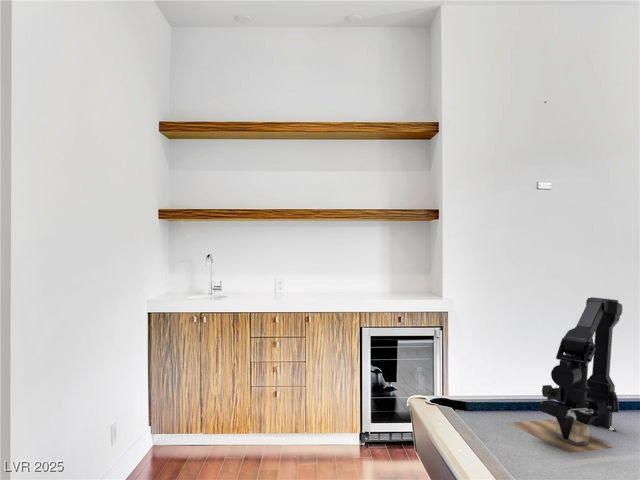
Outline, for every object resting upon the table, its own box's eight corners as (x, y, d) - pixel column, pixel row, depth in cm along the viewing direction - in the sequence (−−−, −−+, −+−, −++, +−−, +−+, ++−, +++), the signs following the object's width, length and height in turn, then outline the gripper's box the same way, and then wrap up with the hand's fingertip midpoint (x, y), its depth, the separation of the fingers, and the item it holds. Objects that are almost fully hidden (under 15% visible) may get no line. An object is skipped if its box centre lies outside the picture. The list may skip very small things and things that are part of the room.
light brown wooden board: (549, 423, 156) (549, 419, 156) (613, 452, 135) (613, 447, 135) (507, 426, 150) (508, 422, 150) (568, 457, 130) (568, 452, 130)
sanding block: (567, 435, 142) (568, 417, 142) (588, 444, 136) (589, 426, 136) (555, 436, 141) (556, 418, 141) (576, 445, 134) (577, 427, 134)
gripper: (576, 373, 149) (573, 426, 149) (526, 374, 143) (523, 430, 143) (610, 383, 139) (607, 440, 139) (558, 385, 132) (554, 445, 132)
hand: (572, 438), depth 138 cm, fingers closed on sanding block, 4 cm apart
